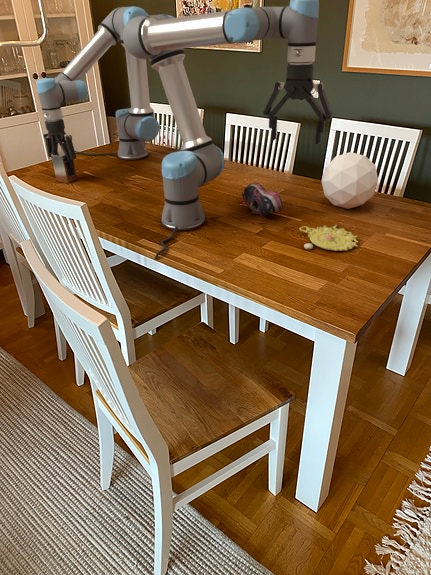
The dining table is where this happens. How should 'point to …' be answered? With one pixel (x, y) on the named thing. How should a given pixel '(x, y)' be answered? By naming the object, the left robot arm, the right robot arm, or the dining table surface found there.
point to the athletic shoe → (261, 200)
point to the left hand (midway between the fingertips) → (66, 174)
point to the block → (62, 168)
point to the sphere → (349, 180)
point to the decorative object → (330, 238)
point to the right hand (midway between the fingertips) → (295, 141)
